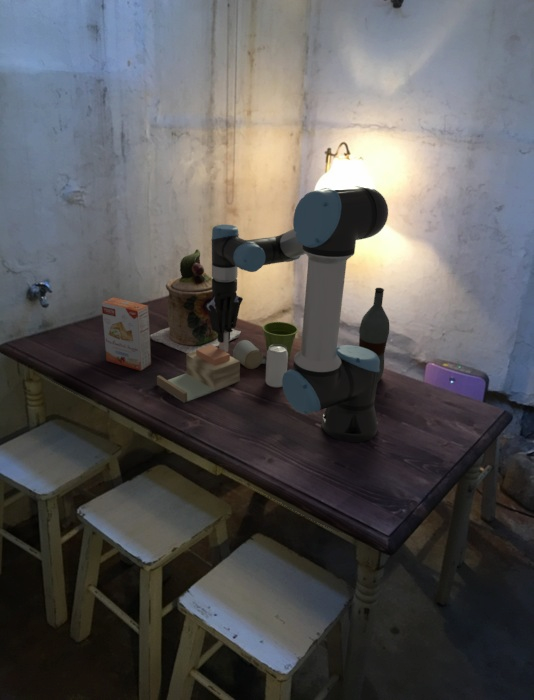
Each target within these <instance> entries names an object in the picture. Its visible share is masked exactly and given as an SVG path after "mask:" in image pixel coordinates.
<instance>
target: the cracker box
mask: <svg viewBox="0 0 534 700" xmlns="http://www.w3.org/2000/svg"><path fill="white" fill-rule="evenodd" d="M101 311H102V321H103V322H102V323H103V334H104V335H103V336H104V346H105V356H106V357H105V358H106V362H108V363H109V362H110V363H113V364H116V365H120V366H121V367H122V366H123V367H125V368H129V369H132V370H136V371H139V372H142V371H143V370H145V369H146V368H148V367H149V366H151V365H152V357H151V356H152V354H151V338H150V335H151V334H150V331H151V330H150V316H149V315H150V314H149V305H147V304H142V303H140V302H139V303H138V302H134V301H130V300H125V299H121V298H119V297H118V298H117V297H111V298H109V299H106V300H103V301H102V302H101Z"/></svg>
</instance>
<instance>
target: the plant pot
mask: <svg viewBox="0 0 534 700" xmlns="http://www.w3.org/2000/svg"><path fill="white" fill-rule="evenodd" d="M262 331H263V332H264V337H265V345H266V346H265V347H266V352H267V351H268V348H269V346H271V345H283V346H285V347H286V348H287V352H288V361H289V359H290V356H291V352H292V348H293V344H294V340H295V338H296V334H297V333H298V331H299V328H298V327H297V326H296V325H295V324H292V323H290V322H286V321H271V322H267V323H265V324H263V325H262Z"/></svg>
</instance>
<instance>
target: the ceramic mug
mask: <svg viewBox="0 0 534 700" xmlns="http://www.w3.org/2000/svg"><path fill="white" fill-rule="evenodd" d="M232 357H233V358H235V359H237V360H239V361H240V365H242V366H243V367H245V368H246V369H249V370H254V369H256V368H258V367H260V365H261V364H263V365H266V360H267V356H264V355H263V353H262V351H261V350H260V349H259V348H258V347H257V346H255V345H254V344H253V343H252V341H249V340H247V339H243V340H240V341H238V342H237V343H236V345H234V347H233V350H232Z"/></svg>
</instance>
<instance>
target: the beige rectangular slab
mask: <svg viewBox="0 0 534 700" xmlns="http://www.w3.org/2000/svg"><path fill="white" fill-rule="evenodd" d="M185 354H186V353H185ZM185 357H186V359H185V360H186V363H185V364H186V373H187V374H189V375H190V376H192V377H194V378H195V379H197V380H199V381H200V382H202V383H204V384H205V385H207V386H208V387H210V388H212V389H213V390H214V392H217V391H219V390H221V389H223V388H226V387H229V386H231V385H234V384H236V383H239V382H240V381H241V379H240V377H241V376H240V375H241V374H240V373H241V363H240V361H239V360H237V359H235V358H234V356H231V355H230V360H229V361H226V362H223V363H221V364H218V365H215V366H214V365H212V364H211V363H209V362H207V361H205V360H203V359H202V358H200V357H198V356H196V351H195V352H192V353H189V354H186V355H185Z"/></svg>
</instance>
